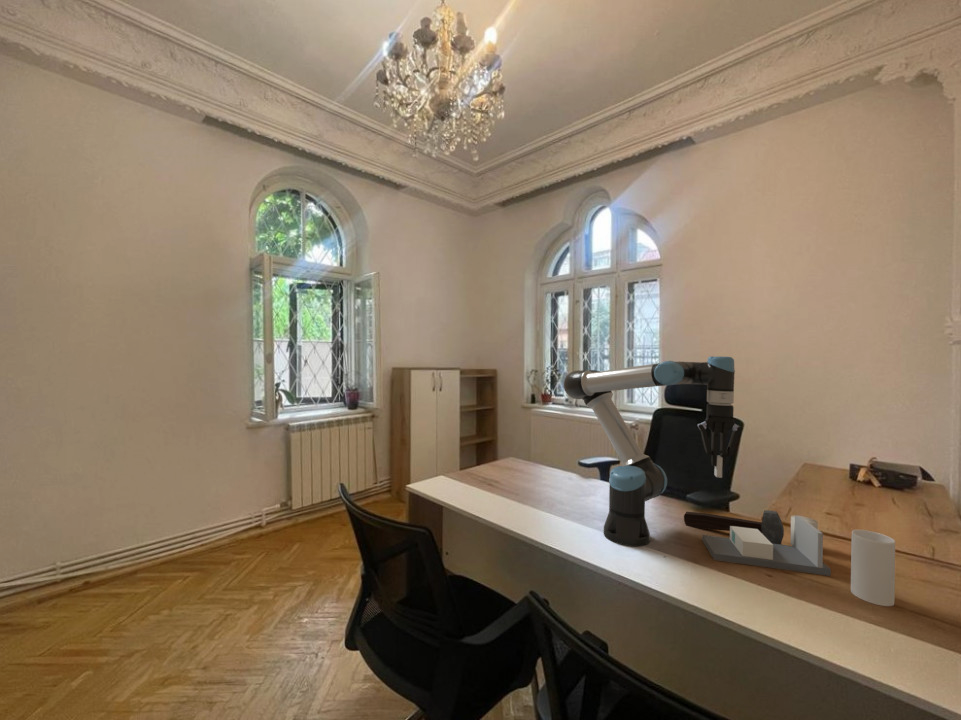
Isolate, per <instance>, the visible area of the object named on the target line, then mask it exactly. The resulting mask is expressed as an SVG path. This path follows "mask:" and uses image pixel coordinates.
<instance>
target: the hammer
mask: <svg viewBox="0 0 961 720" xmlns="http://www.w3.org/2000/svg"><path fill="white" fill-rule="evenodd" d="M761 519H762V520H761V521H757V520H751V519H750V520H749V519H744V518H739V517H738V518H736V517H732V516H731V517H730V516H725V515H718V514H713V513H712V514H711V513H706V512H696V511H686V512H685V513H684V515H683V521H684V524H685V526H686V527H689V528H690V527H691V528H696V529H702V530H703V529H704V530H715V531H725V532H726V531H727V532H730V526H735V527H744V528H752V529H758V530H759V531H760V532H761V533H762V534H763V535H764V536H765V537H766V538H767V539H768V540H769V541H770V542H771V543H773V544H781V545H782V542H783V539H784V535H785V529H784V524H783V522H782V519H781V517H780V514H779V513H778V512H777V511H775V510H765V509H764V510H763V514H762V518H761Z"/></svg>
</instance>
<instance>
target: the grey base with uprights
mask: <svg viewBox="0 0 961 720" xmlns="http://www.w3.org/2000/svg"><path fill="white" fill-rule="evenodd" d="M794 516H795V532H794V546H792V545H787V544H782V543H781V544H773V543H772V544H773V560H770V559H762V558H755V557H747V556H742V554H741V553H740V552H739V551H738V549H737V548H736V547H735V545H734V544H733V543H732V542H731V540H730V537H723V536H716V535H715V536H714V535H709V534H708V535H707V534H702V537H701V538H702V542H703V544H704V545H705V547H706V549H707V551H708V552H709V553H710V555H711V557H712V559H713V560H714V561H718V562H719V561H720V562H721V561H722V562H724V563H725V562H727V563H734V564H741V565H748V566H755V567H764V568H770V569H778V570H785V571H791V572H798V573H799V572H800V573H805V574H807V573H808V574H812V575H813V574H814V575H820V576H828V577H830V576H831V573H832V572H831V570H832V569H831V568H830V567H829V566H828V565H827V564H825V563H824V561H823V559H824V556H823V555H824V554H823V553H824V548H823V547H824V533H823V532H822V531H821V530H819V529H816V528H815V527H814V526H812V525H811V524H810V523H808V522H807V521H805V520H804V519H803V518H801V517H800V516H801V515H795V514H794Z"/></svg>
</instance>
